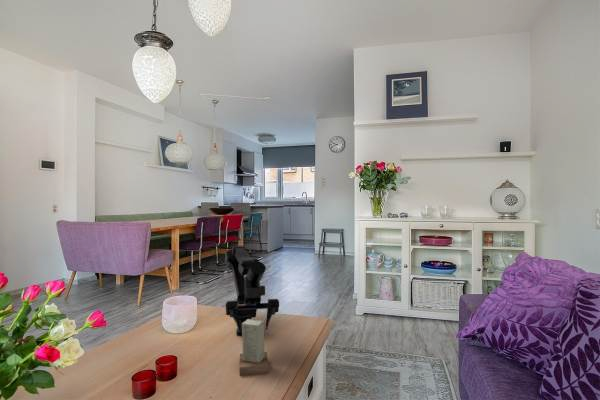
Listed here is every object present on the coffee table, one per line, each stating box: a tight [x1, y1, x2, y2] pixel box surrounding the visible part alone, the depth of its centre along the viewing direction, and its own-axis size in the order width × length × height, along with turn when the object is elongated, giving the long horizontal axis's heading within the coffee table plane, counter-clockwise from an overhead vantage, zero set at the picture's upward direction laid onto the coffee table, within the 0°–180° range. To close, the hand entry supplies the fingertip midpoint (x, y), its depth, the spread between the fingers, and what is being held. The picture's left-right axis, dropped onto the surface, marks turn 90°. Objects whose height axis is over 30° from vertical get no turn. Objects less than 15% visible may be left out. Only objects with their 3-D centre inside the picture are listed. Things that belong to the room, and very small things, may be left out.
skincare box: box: [241, 318, 266, 363], centre depth 105 cm, size 6×4×12 cm
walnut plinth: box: [239, 351, 270, 376], centre depth 105 cm, size 9×9×2 cm
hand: (253, 330), depth 110 cm, fingers open, 9 cm apart
